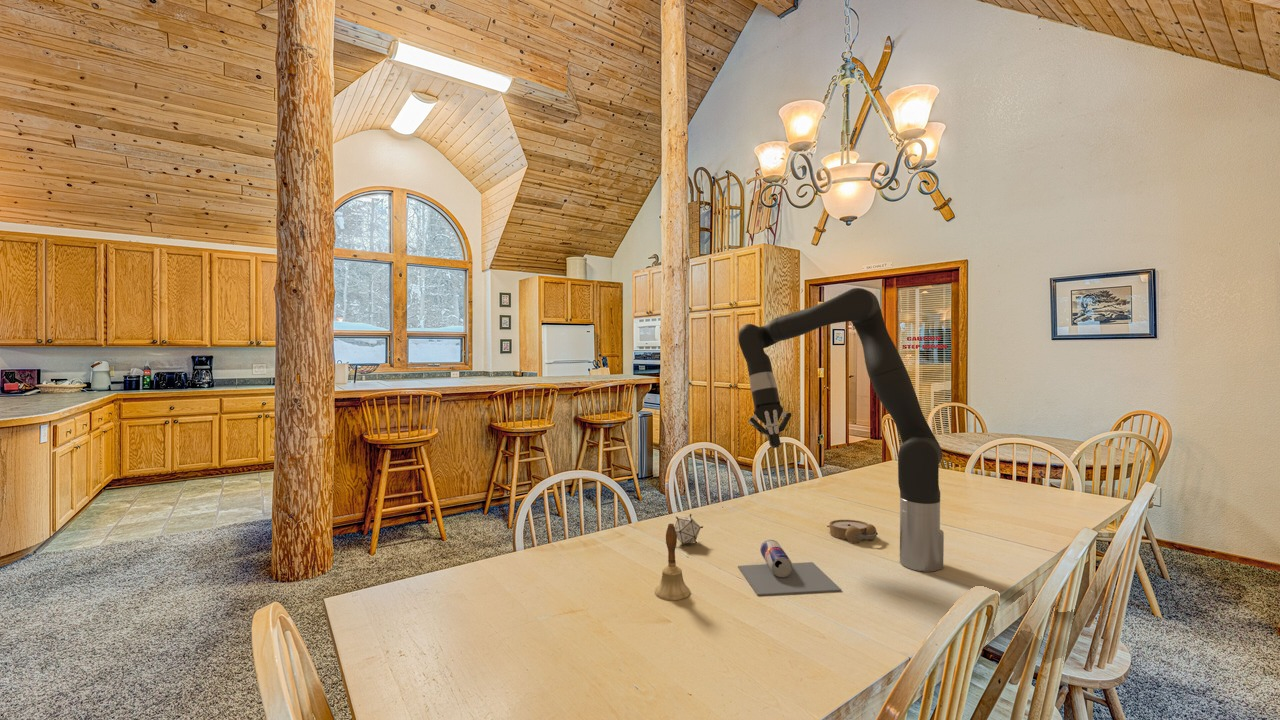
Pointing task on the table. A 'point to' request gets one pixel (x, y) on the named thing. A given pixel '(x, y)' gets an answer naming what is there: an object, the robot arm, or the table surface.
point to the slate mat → (788, 580)
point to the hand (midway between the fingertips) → (775, 447)
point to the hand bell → (672, 573)
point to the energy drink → (776, 558)
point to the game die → (687, 530)
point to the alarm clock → (852, 530)
